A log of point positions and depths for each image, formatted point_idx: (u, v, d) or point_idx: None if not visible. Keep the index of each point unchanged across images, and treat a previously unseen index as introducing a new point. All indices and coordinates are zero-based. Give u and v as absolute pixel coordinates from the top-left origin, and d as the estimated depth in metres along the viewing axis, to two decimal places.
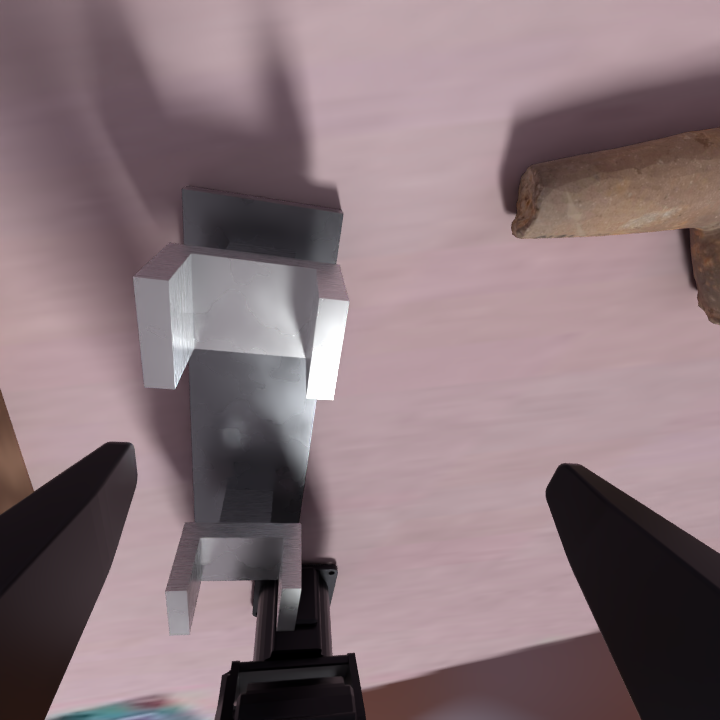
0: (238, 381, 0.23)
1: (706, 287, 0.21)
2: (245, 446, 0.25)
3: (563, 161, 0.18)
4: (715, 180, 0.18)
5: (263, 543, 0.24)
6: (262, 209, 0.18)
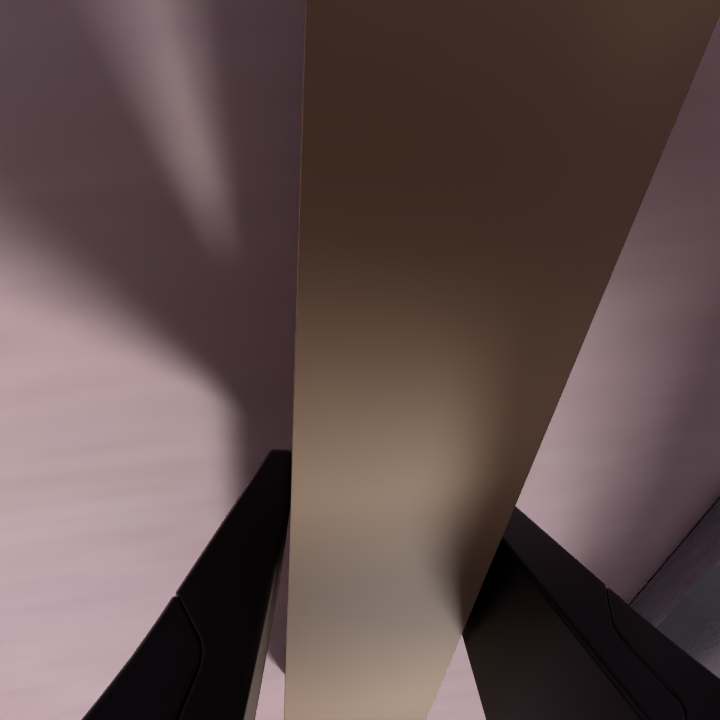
0: None
1: None
2: None
3: None
4: None
5: None
6: None
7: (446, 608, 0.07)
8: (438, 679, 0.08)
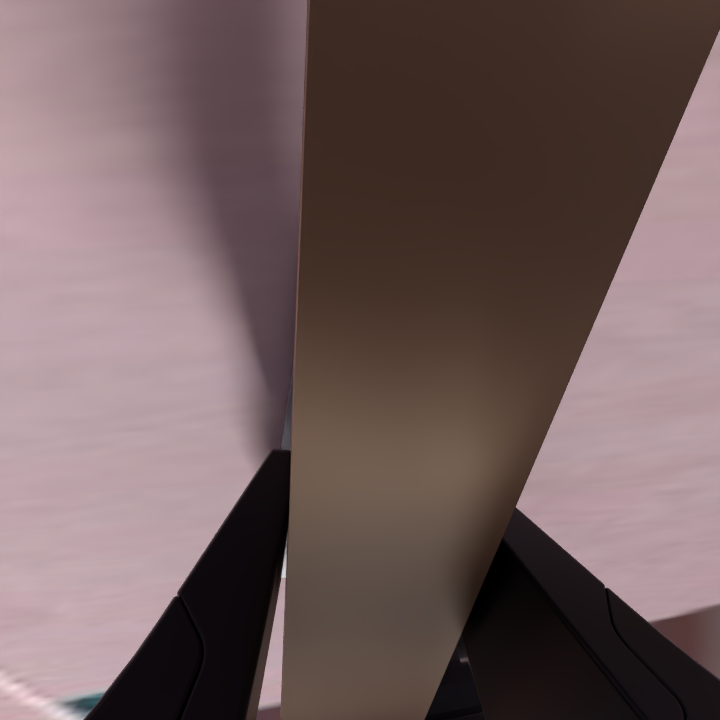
0: None
1: None
2: None
3: None
4: None
5: None
6: None
7: (445, 610, 0.07)
8: (436, 681, 0.08)
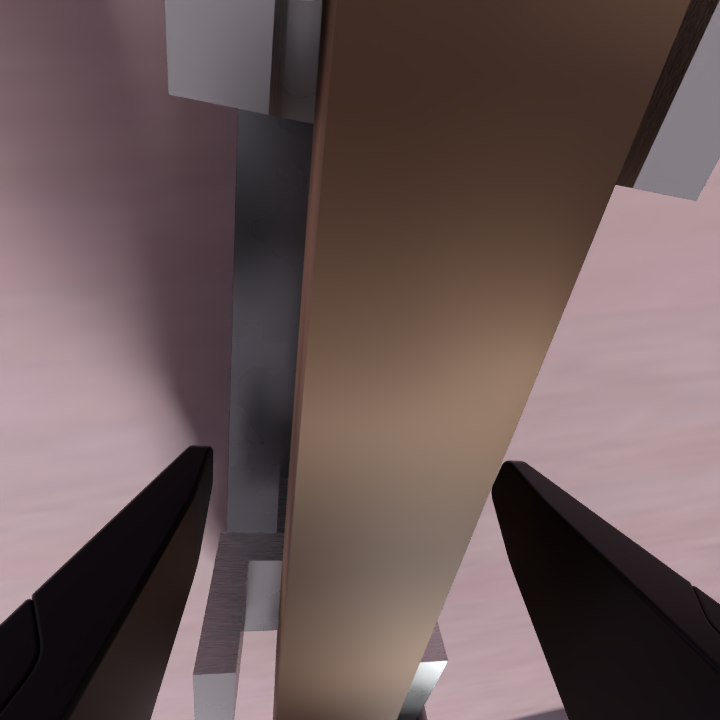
0: None
1: None
2: None
3: None
4: None
5: None
6: None
7: (433, 571, 0.07)
8: (424, 643, 0.09)
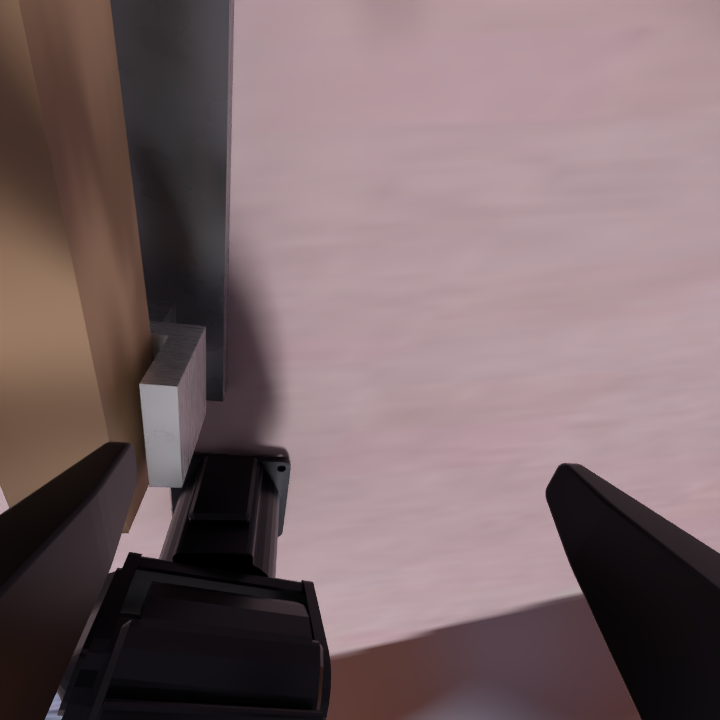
0: None
1: None
2: None
3: None
4: None
5: None
6: None
7: (25, 160, 0.08)
8: (73, 286, 0.09)
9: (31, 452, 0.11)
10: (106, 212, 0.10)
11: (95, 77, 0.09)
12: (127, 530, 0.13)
